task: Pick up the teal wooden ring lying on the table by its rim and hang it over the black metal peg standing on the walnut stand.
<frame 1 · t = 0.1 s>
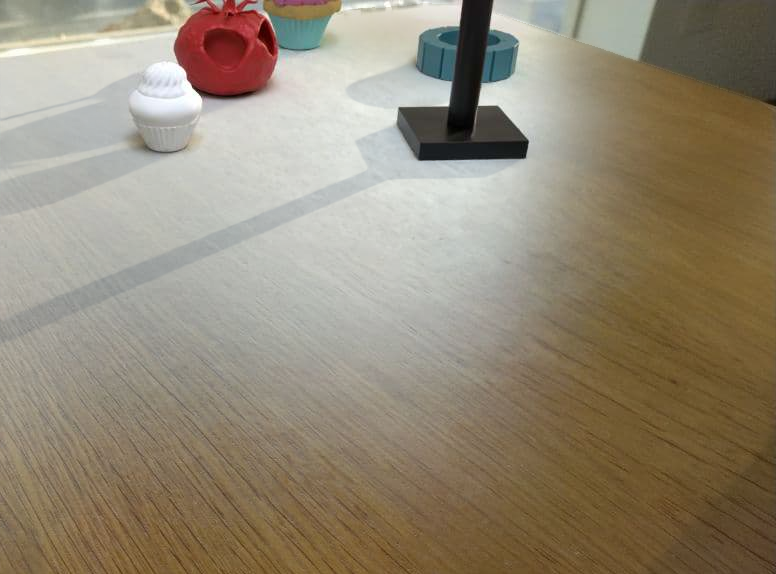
muffin: (167, 147, 83), on the table
pomegranate: (227, 88, 96), on the table
cupcake: (300, 46, 109), on the table
stand: (458, 140, 84), on the table
ring: (464, 68, 102), on the table
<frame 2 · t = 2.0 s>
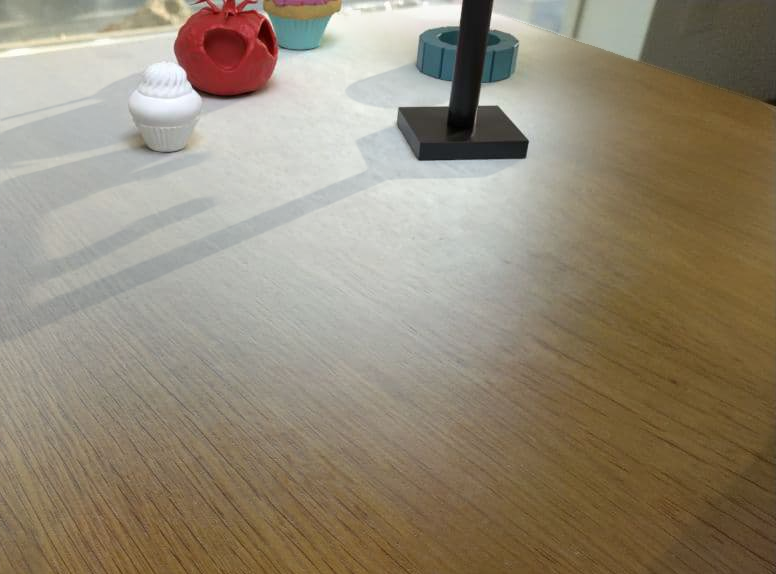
nothing on the table moved.
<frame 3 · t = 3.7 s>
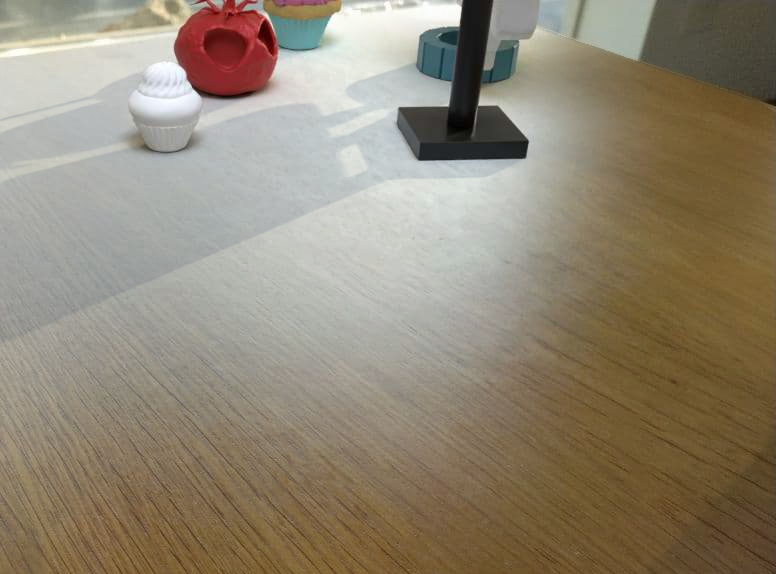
hand: (477, 63, 97), 2 cm above the table, tool pointing down, fingers closed on ring, 2 cm apart
ring: (465, 68, 102), on the table, touching gripper
everything else where it was.
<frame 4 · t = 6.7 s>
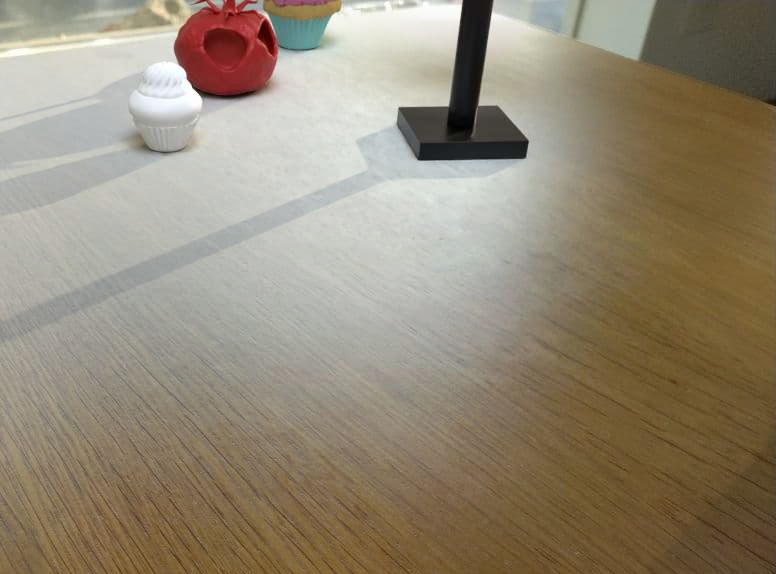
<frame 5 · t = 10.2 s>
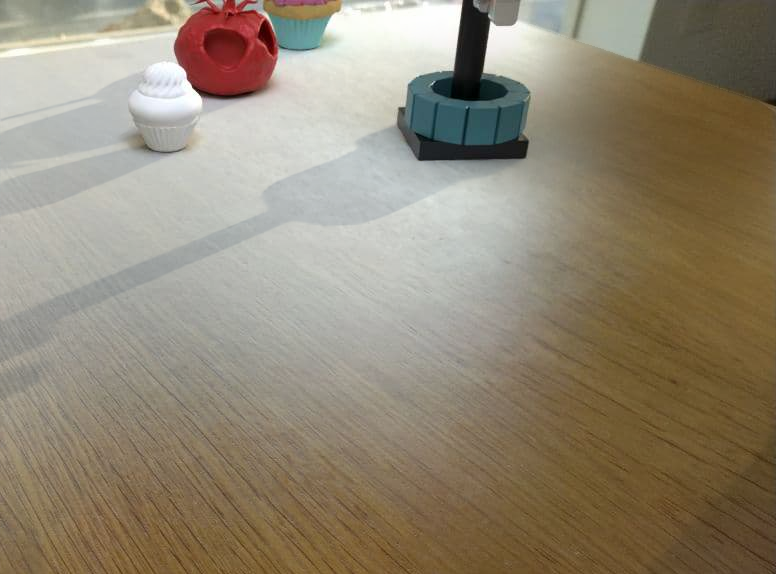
hand: (493, 17, 74), 11 cm above the table, tool pointing down, fingers open, 3 cm apart
ring: (463, 124, 83), point 2 cm above the table, touching stand
everything else where it was.
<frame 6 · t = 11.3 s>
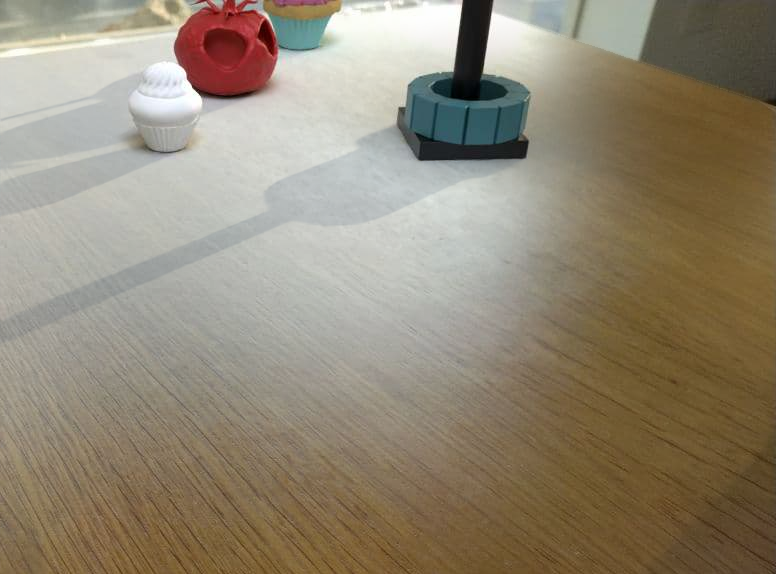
nothing on the table moved.
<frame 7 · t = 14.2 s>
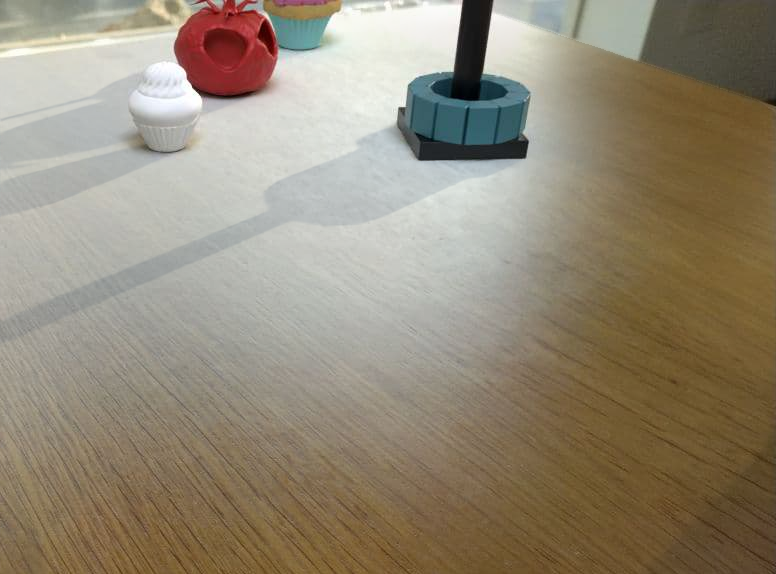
nothing on the table moved.
at the end: ring 0.4 cm off-centre on the stand, point 1.5 cm above the stand's base; the gripper is holding nothing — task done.
